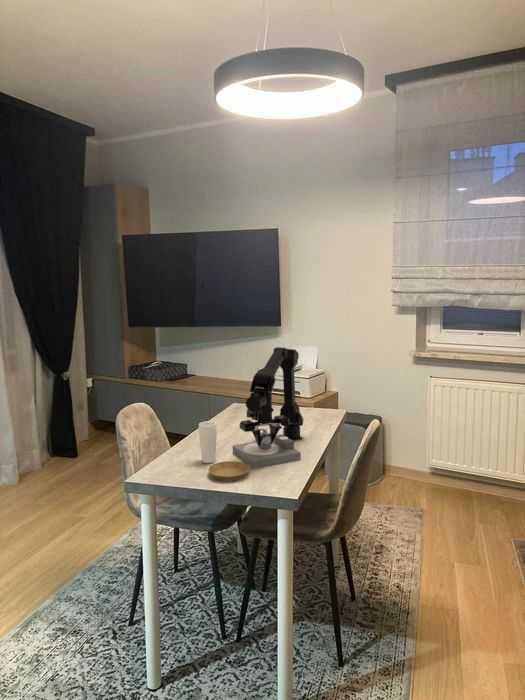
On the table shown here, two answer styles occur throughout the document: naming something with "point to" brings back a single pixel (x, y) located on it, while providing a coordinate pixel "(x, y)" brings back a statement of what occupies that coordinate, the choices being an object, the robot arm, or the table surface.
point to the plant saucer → (229, 470)
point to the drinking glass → (208, 441)
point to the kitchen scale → (268, 452)
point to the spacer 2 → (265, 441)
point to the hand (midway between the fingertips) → (265, 444)
